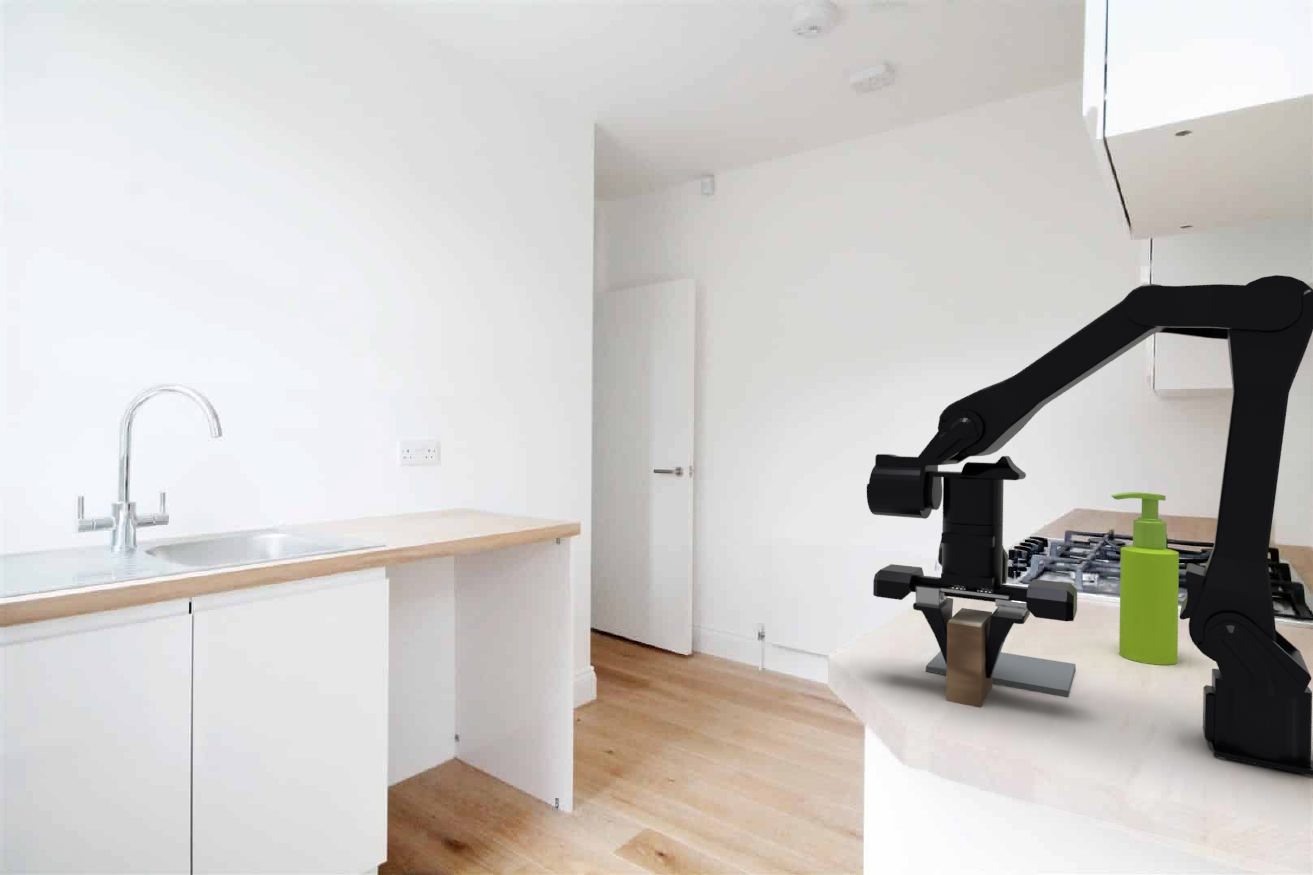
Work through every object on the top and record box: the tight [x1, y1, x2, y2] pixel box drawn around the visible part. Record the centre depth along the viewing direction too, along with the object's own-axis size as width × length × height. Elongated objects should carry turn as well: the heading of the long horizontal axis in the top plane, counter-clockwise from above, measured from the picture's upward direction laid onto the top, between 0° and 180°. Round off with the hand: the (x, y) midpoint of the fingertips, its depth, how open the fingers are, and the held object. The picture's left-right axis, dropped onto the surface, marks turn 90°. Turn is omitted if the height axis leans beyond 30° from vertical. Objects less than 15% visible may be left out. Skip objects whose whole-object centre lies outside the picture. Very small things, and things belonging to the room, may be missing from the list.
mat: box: [925, 650, 1076, 698], centre depth 84 cm, size 14×11×1 cm
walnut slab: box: [945, 607, 993, 708], centre depth 76 cm, size 3×7×8 cm, turn 147°
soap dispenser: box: [1111, 491, 1180, 666], centre depth 90 cm, size 6×7×20 cm
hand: (970, 674), depth 76 cm, fingers closed on walnut slab, 3 cm apart
